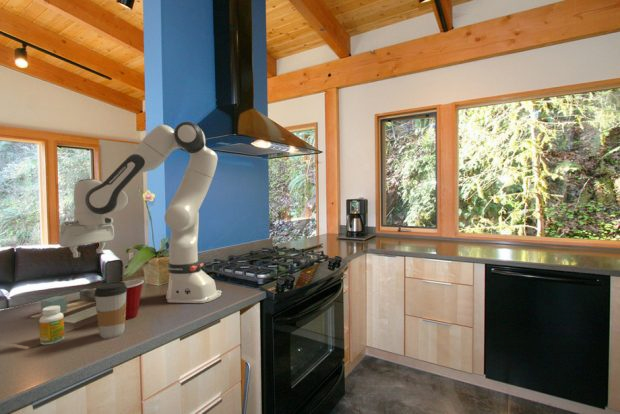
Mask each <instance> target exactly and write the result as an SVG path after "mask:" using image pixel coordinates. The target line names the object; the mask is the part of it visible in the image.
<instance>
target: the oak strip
mask: <svg viewBox="0 0 620 414" xmlns="http://www.w3.org/2000/svg"><path fill="white" fill-rule="evenodd" d="M95 290H96V289H92V288H84V289H80V290H79V300H78V301H75V302H72V303H68V304H67V311H65V312H62V314H63V315H64V314H66V313H69V312H72V311H75V310H78V309H80V308H83V307H86V306H89V305H93V304H96V297H95V295H94V294H95ZM42 316H43V315H41V313H39V314H35V315H32V316H30V318H35V319H40V318H41V317H42Z"/></svg>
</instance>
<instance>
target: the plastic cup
mask: <svg viewBox="0 0 620 414" xmlns="http://www.w3.org/2000/svg"><path fill="white" fill-rule="evenodd" d="M123 282H124V283H125V286H127V291H126V317H125V321H126V320H131V319H134V318H136V317H137V316H138V314H139V307H140V302H141V294H142V289H143V285H144V282H145V281H144V279H132V280H124V281H123Z"/></svg>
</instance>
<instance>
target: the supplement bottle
mask: <svg viewBox="0 0 620 414" xmlns="http://www.w3.org/2000/svg"><path fill="white" fill-rule="evenodd" d="M42 314H43V316H42V317H41V318H39V320H38V321H39V322H38V323H39V343H40V344H41V345H44V346H46V345H52V344H57V343H59V342H61V341H62V340H64V339H65V322H64V317H65V316H64V314H62V313H60V306H49V307H46V308H43V309H42Z"/></svg>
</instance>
